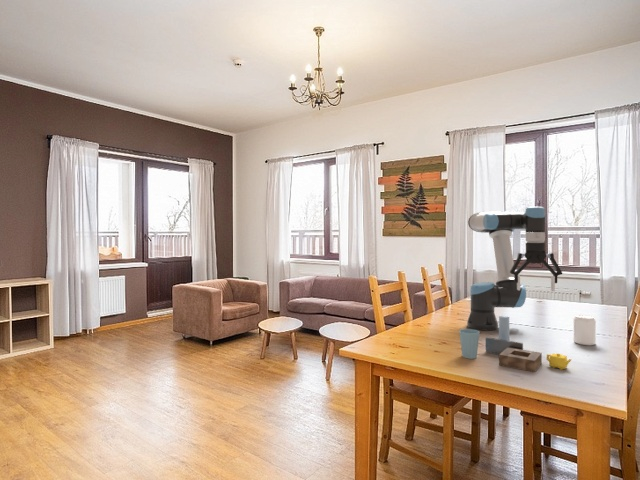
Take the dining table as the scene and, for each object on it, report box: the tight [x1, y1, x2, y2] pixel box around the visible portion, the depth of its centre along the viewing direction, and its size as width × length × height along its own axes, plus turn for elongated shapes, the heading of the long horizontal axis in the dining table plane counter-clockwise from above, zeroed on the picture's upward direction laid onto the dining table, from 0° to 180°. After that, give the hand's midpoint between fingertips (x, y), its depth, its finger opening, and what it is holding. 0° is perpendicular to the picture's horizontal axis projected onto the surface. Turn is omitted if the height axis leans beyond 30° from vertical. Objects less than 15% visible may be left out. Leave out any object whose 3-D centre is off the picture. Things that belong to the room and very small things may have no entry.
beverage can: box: [573, 314, 597, 346], centre depth 175 cm, size 8×8×12 cm
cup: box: [459, 328, 481, 360], centre depth 159 cm, size 8×8×10 cm
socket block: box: [498, 347, 543, 373], centre depth 149 cm, size 12×12×4 cm
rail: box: [485, 337, 524, 355], centre depth 160 cm, size 14×1×6 cm, turn 50°
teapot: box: [546, 353, 572, 371], centre depth 145 cm, size 8×6×5 cm
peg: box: [498, 315, 510, 341], centre depth 168 cm, size 4×4×14 cm
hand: (535, 290), depth 173 cm, fingers open, 13 cm apart
